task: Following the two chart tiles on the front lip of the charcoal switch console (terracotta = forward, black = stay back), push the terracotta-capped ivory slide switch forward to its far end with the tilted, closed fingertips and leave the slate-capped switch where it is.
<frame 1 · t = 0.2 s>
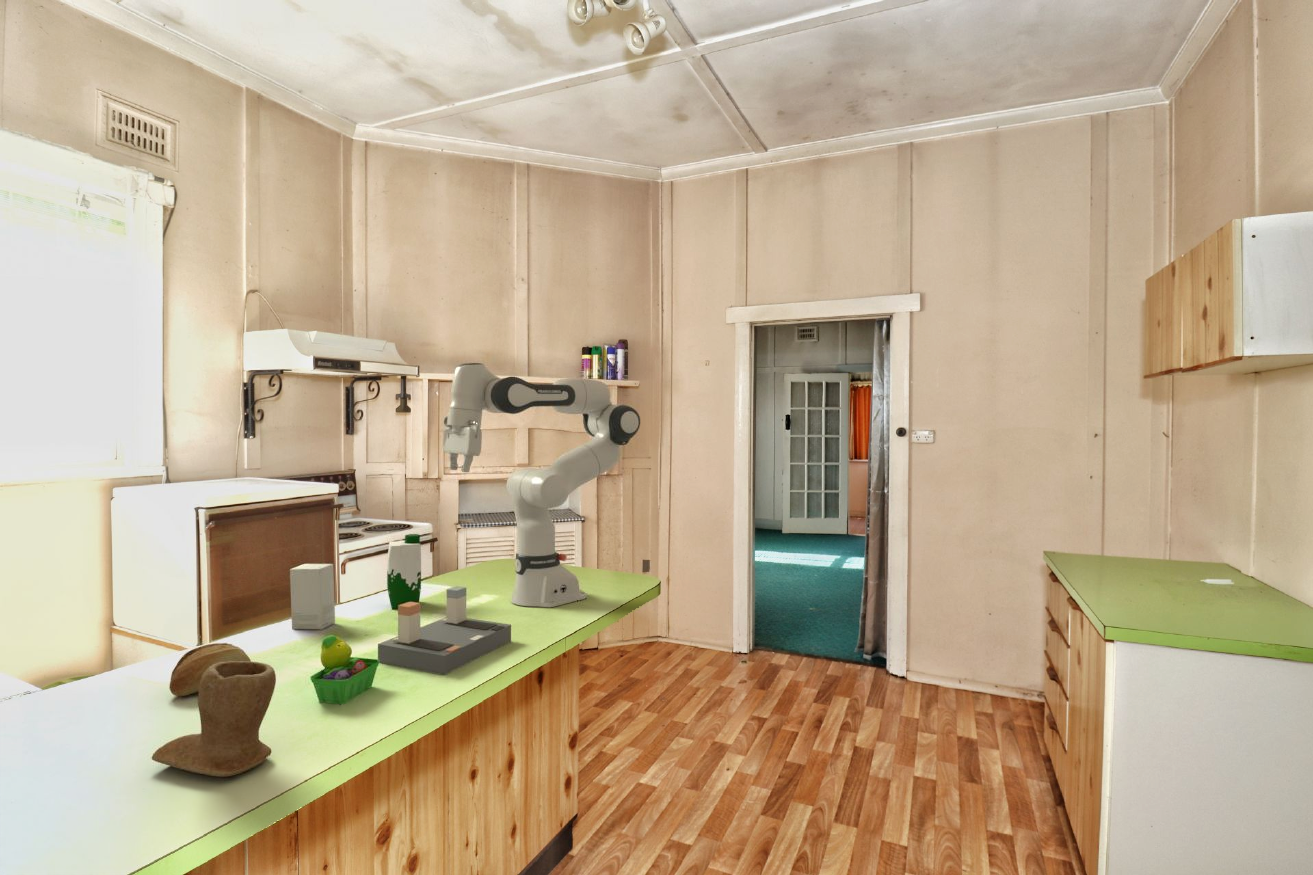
hand: (459, 471, 184), 39 cm above the table, tool pointing down, fingers open, 8 cm apart
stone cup: (223, 763, 104), on the table
milk carton: (404, 605, 193), on the table
skincare box: (312, 627, 172), on the table
switch B: (456, 604, 163), point 8 cm above the table, slide at 0.0 cm
switch A: (409, 622, 149), point 8 cm above the table, slide at 0.0 cm
fruit basket: (343, 694, 130), on the table
console: (447, 651, 155), on the table
bread roll: (210, 687, 133), on the table
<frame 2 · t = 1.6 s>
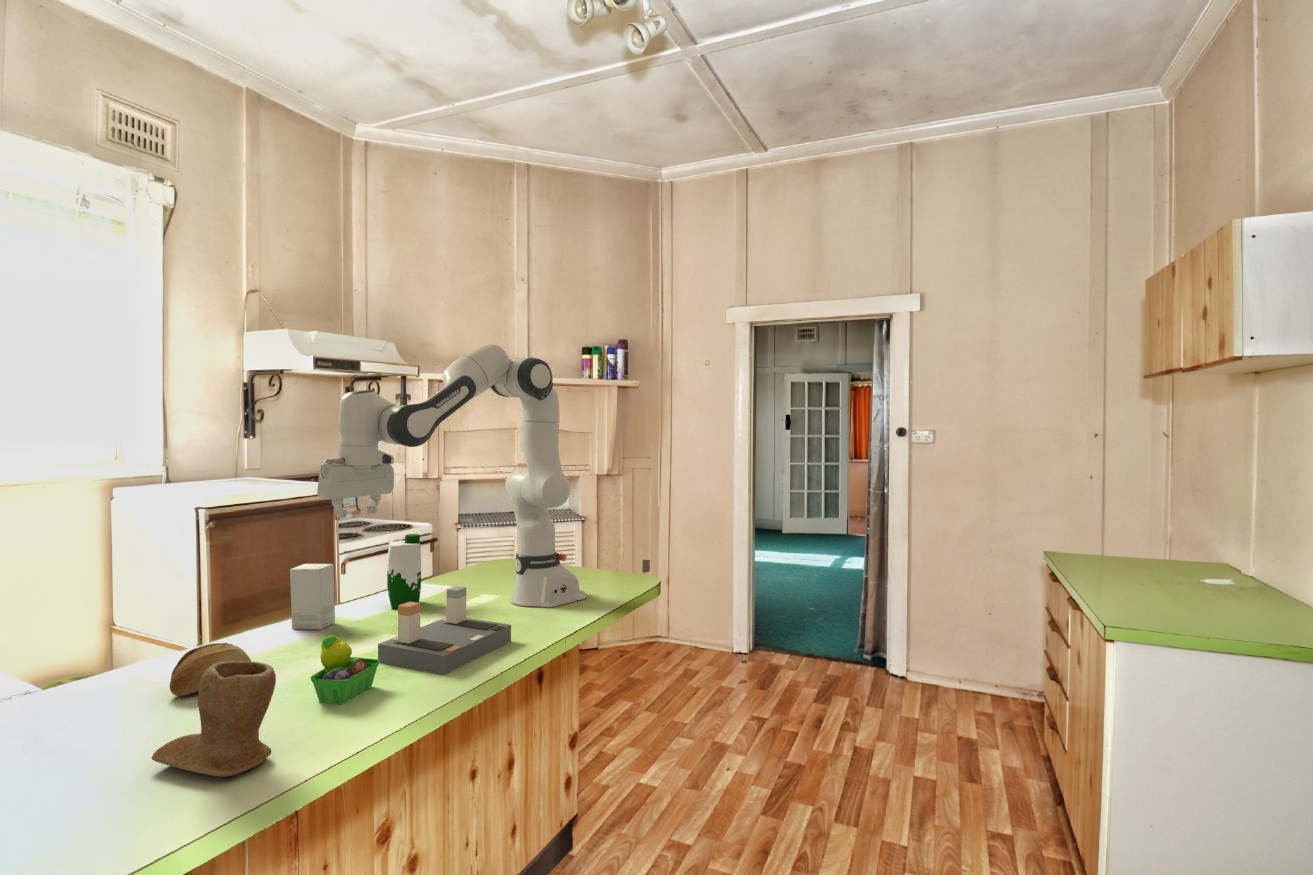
hand: (356, 515, 161), 30 cm above the table, tool pointing down, fingers open, 8 cm apart
nothing on the table moved.
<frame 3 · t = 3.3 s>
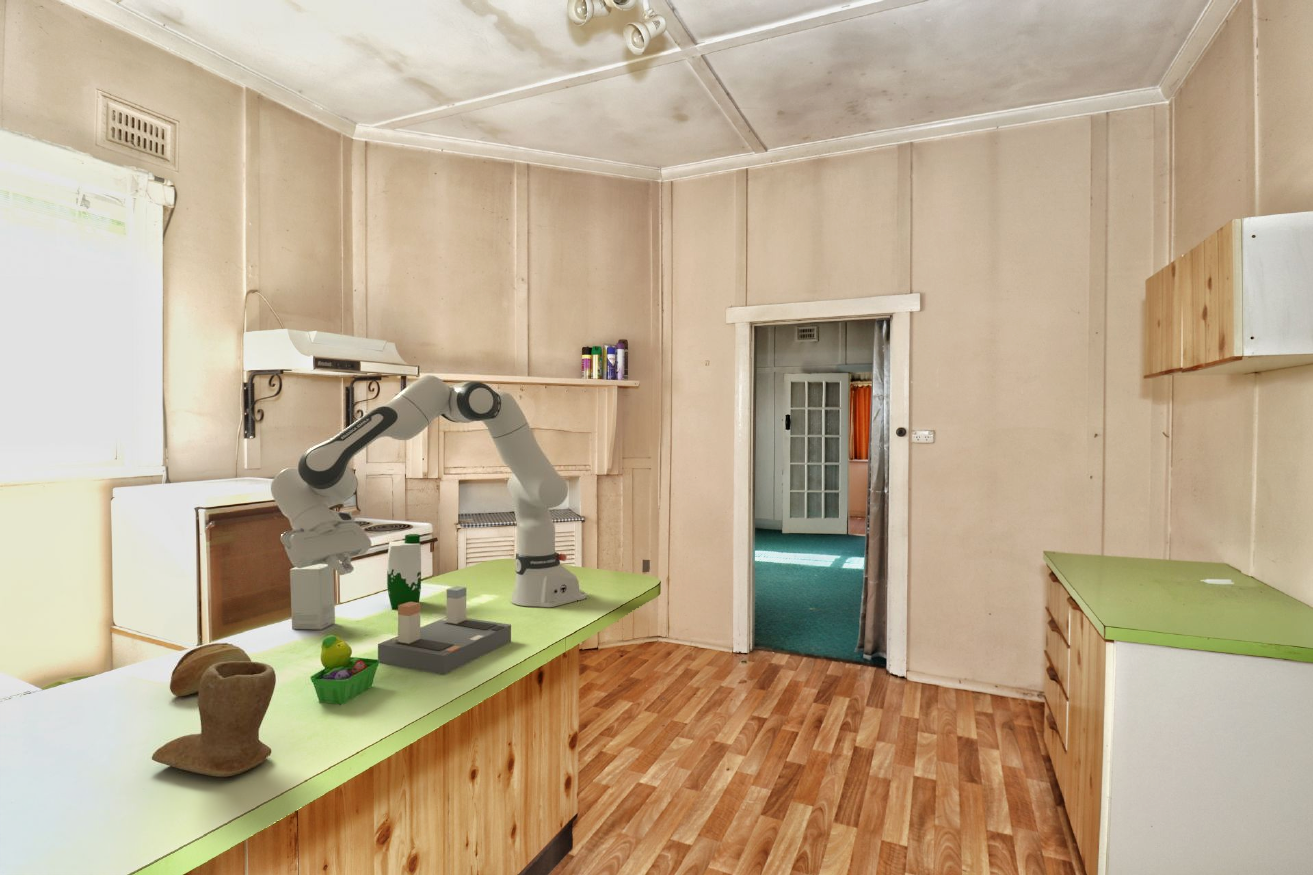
hand: (347, 572, 155), 18 cm above the table, tool tilted 45°, fingers closed
nothing on the table moved.
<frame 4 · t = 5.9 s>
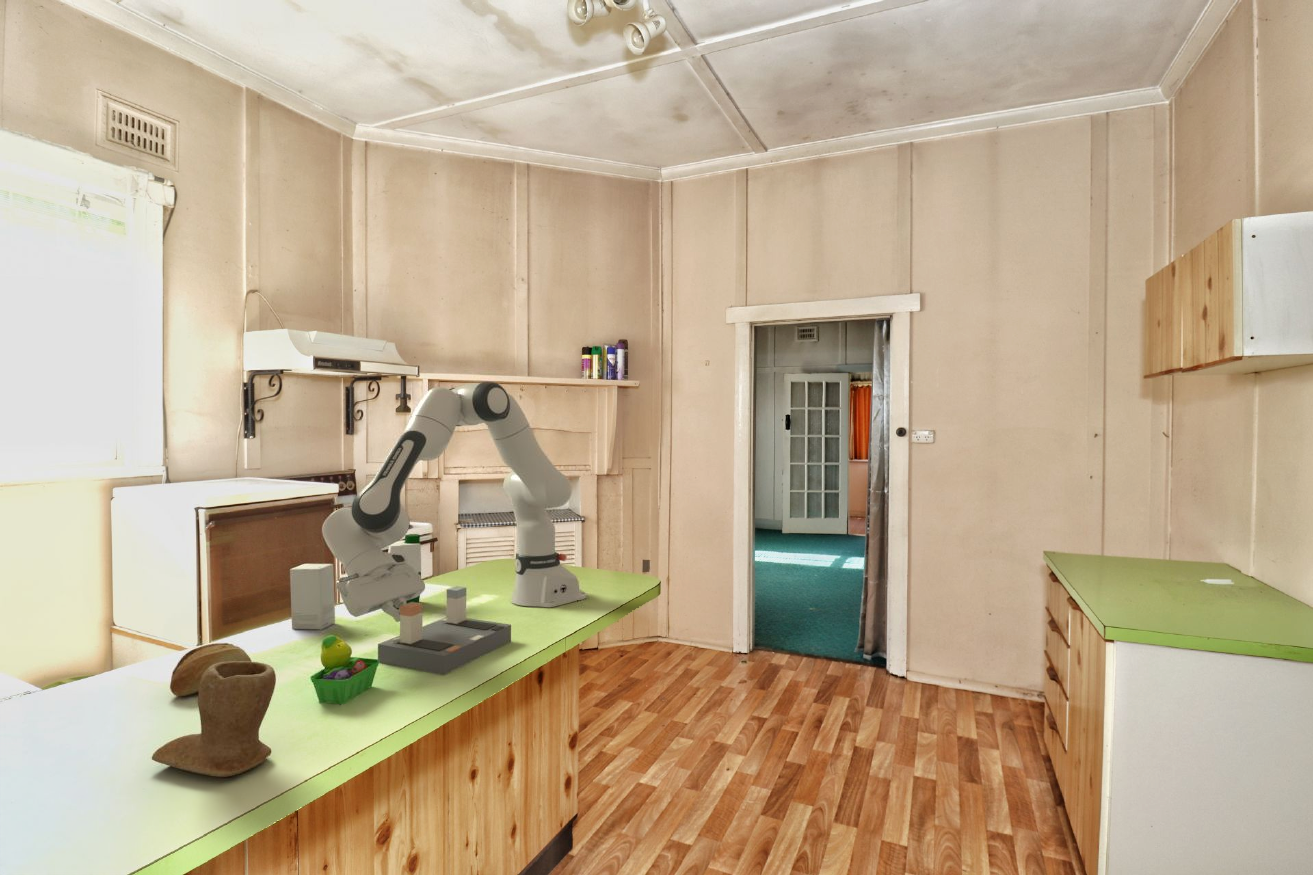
hand: (403, 618, 149), 9 cm above the table, tool tilted 45°, fingers closed, pressing on switch A
switch A: (411, 622, 148), point 8 cm above the table, slide at 0.6 cm, touching gripper
everything else where it was.
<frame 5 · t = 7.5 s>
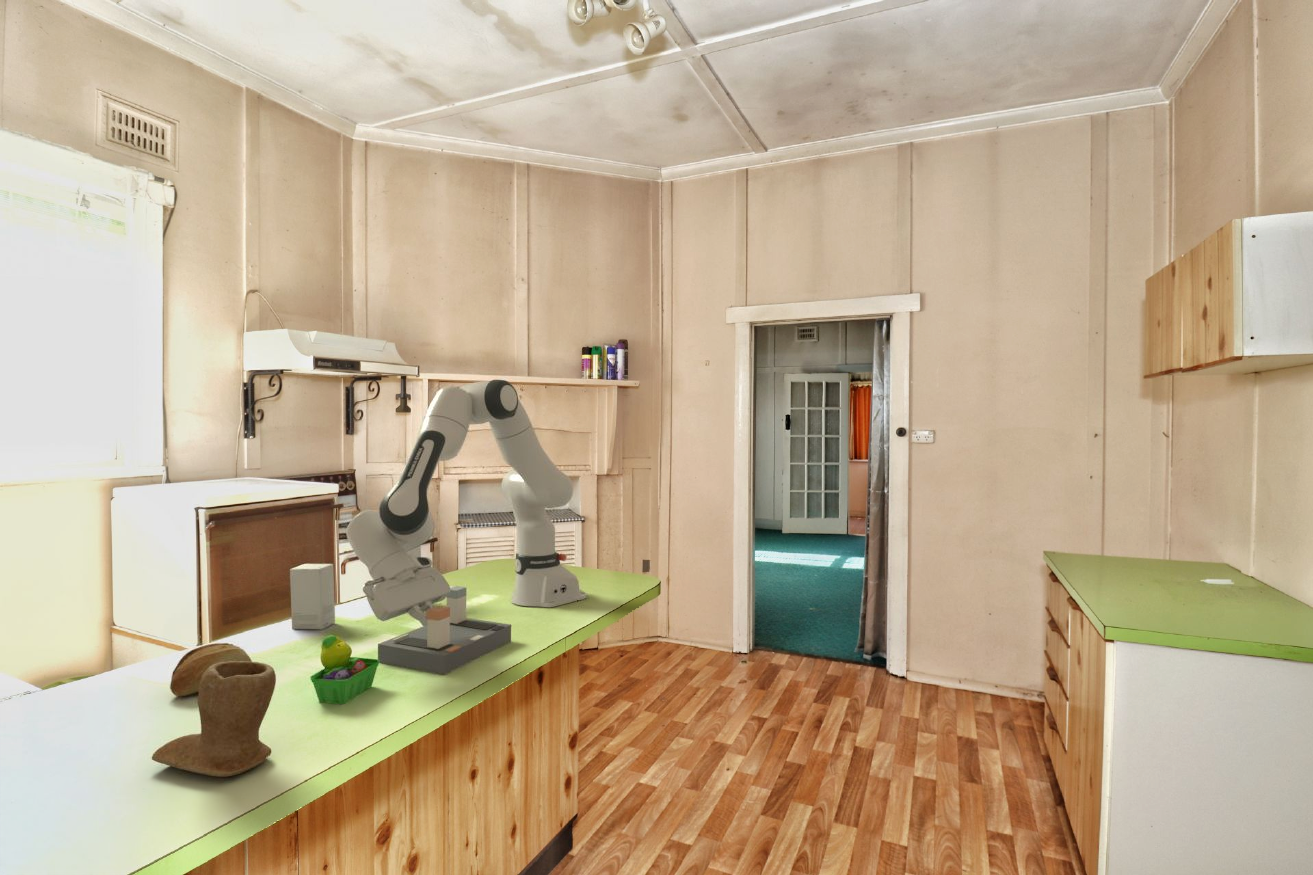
hand: (430, 622, 146), 9 cm above the table, tool tilted 45°, fingers closed, pressing on switch A
switch A: (438, 626, 146), point 8 cm above the table, slide at 8.1 cm, touching gripper
everything else where it was.
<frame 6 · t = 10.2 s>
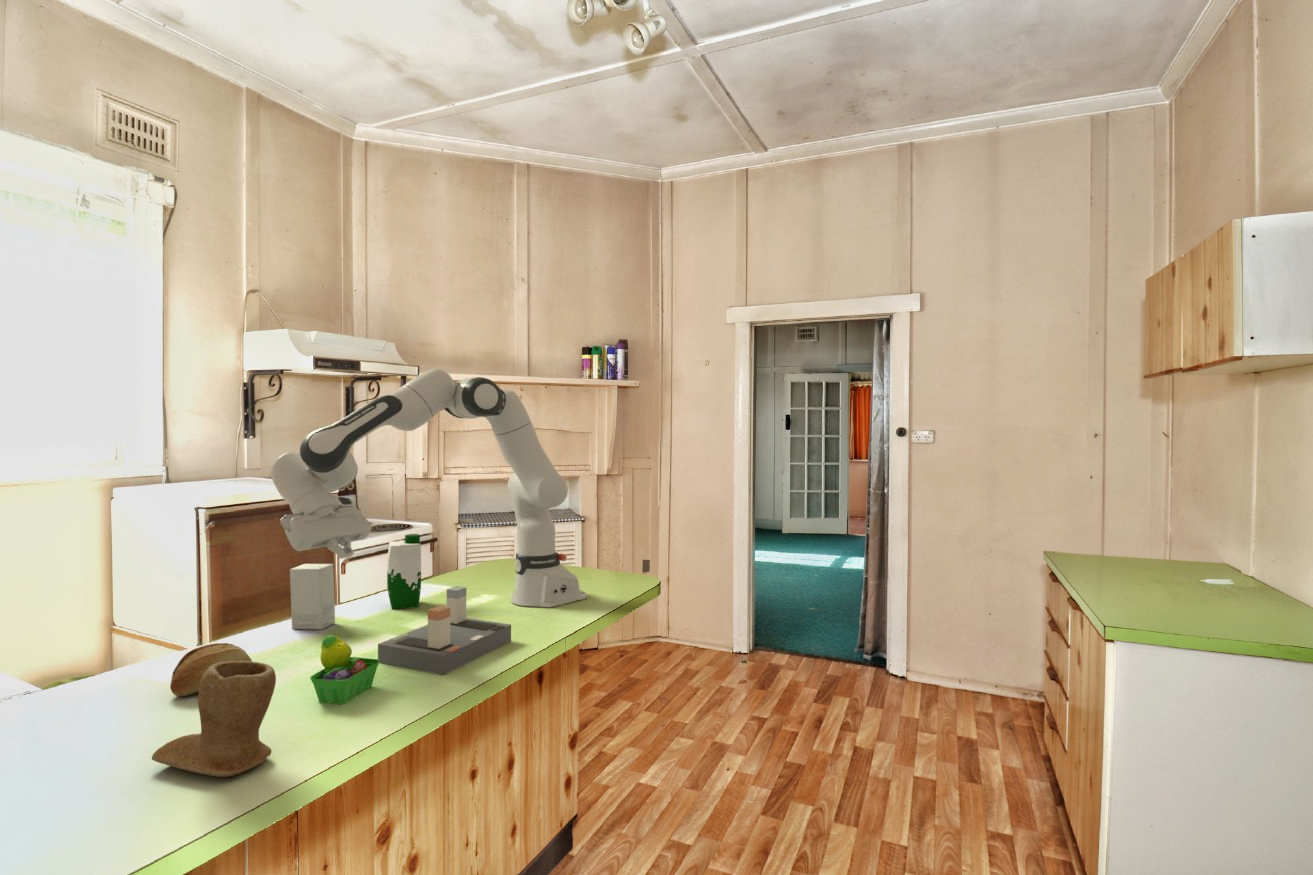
hand: (347, 556, 155), 21 cm above the table, tool tilted 45°, fingers closed
switch A: (439, 626, 145), point 8 cm above the table, slide at 8.2 cm
everything else where it was.
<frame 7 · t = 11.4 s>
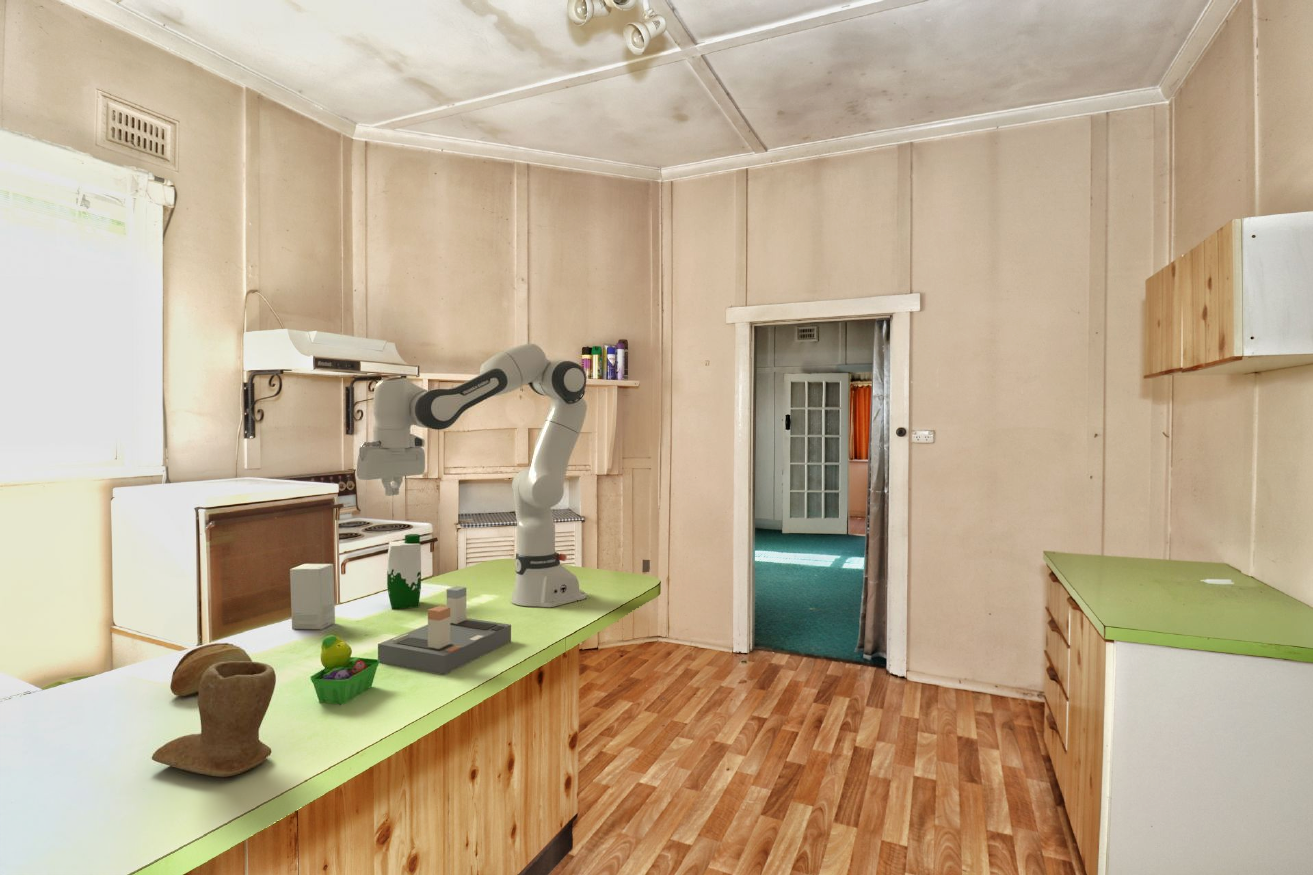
hand: (392, 495, 171), 34 cm above the table, tool pointing down, fingers closed
nothing on the table moved.
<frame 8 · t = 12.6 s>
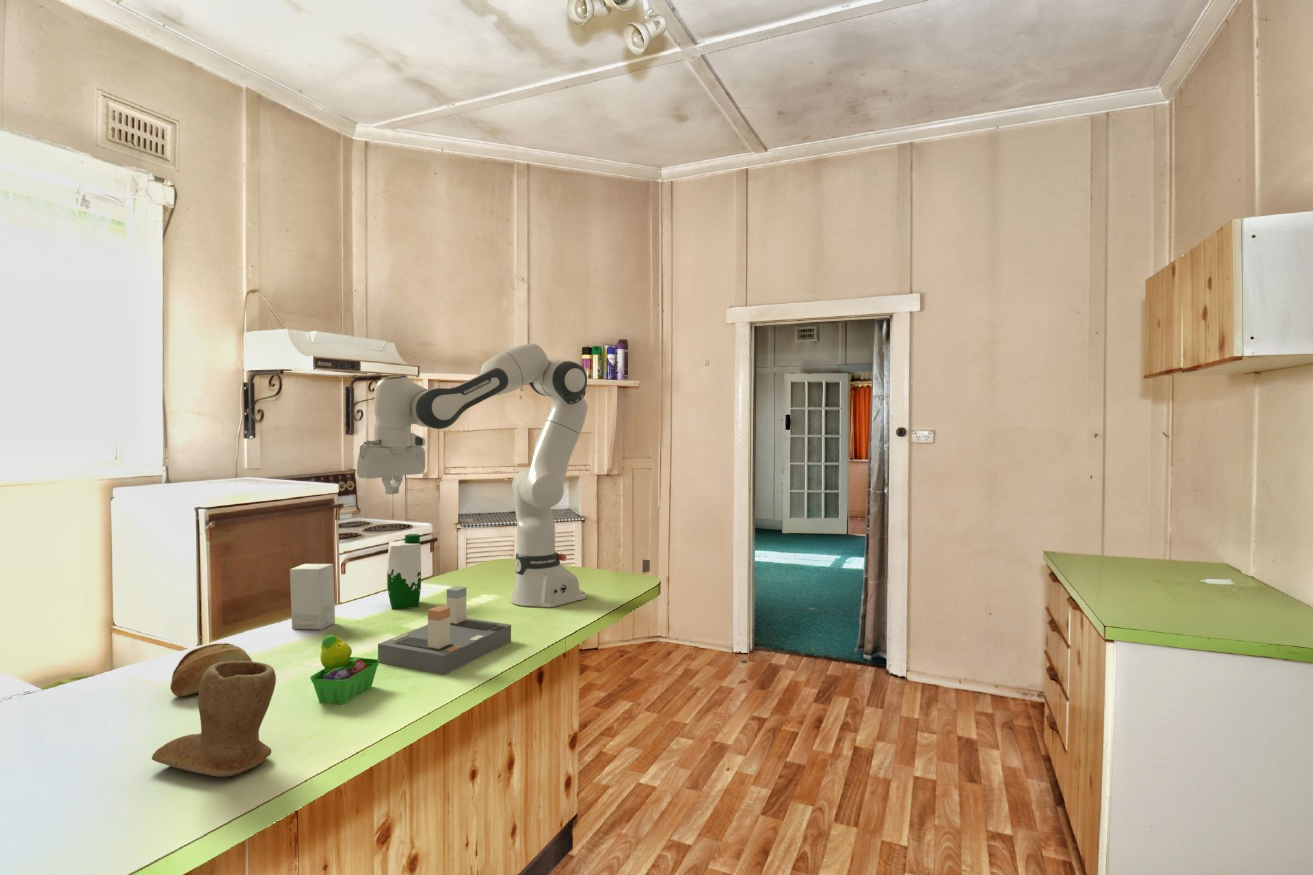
hand: (392, 494, 171), 34 cm above the table, tool pointing down, fingers closed
nothing on the table moved.
at the end: switch A slide at 8.2 cm; switch B slide at 0.0 cm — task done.
